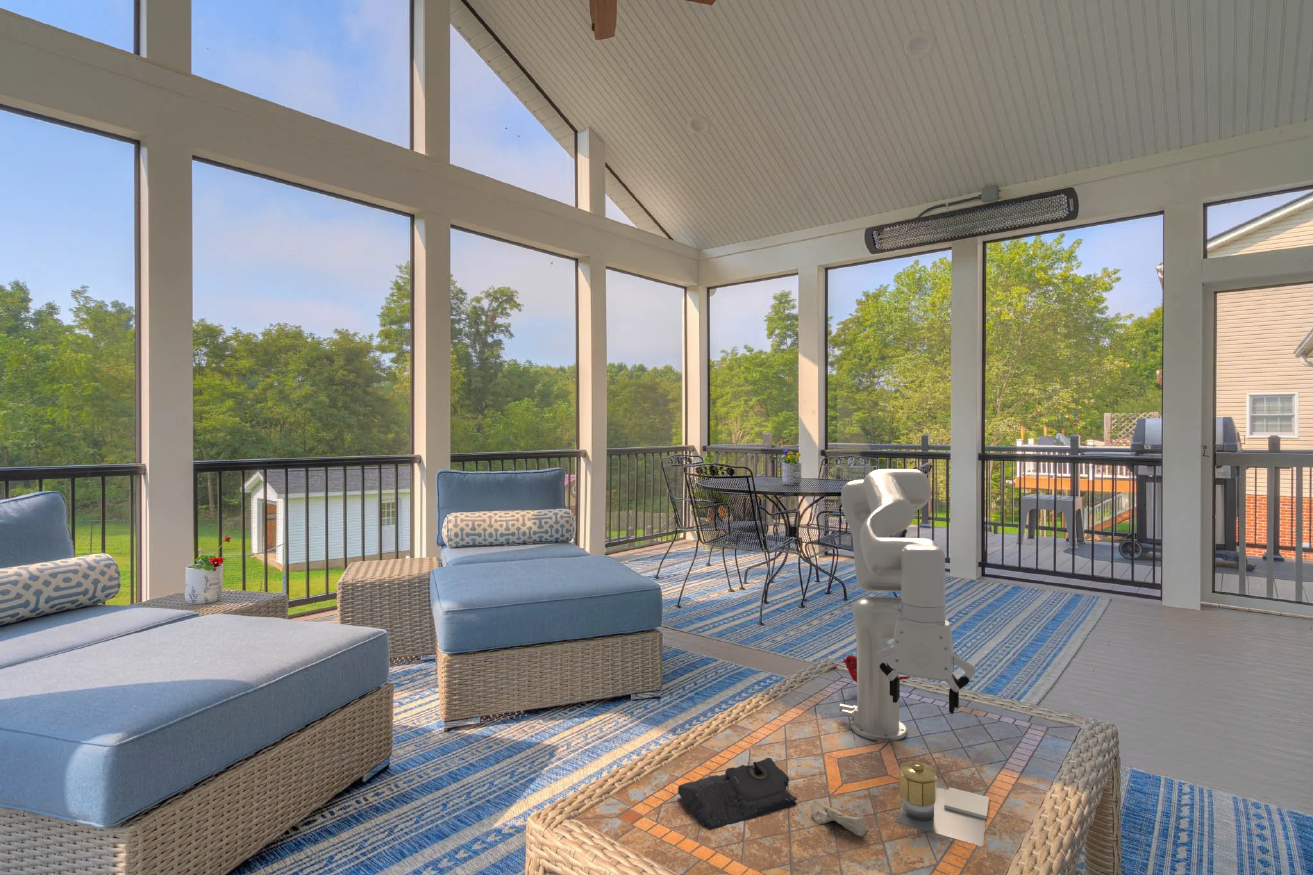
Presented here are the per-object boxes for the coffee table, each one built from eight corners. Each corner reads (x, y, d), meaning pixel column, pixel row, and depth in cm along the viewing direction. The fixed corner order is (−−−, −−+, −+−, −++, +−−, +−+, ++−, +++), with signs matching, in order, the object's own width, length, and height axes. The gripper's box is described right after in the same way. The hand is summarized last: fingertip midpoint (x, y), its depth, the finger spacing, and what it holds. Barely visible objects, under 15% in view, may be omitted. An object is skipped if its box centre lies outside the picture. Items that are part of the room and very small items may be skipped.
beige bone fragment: (816, 811, 122) (816, 787, 122) (871, 831, 116) (871, 806, 116) (804, 826, 118) (804, 801, 118) (861, 847, 112) (861, 821, 112)
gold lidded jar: (897, 799, 119) (897, 768, 119) (903, 784, 124) (903, 753, 124) (933, 809, 116) (933, 776, 116) (937, 793, 121) (937, 761, 121)
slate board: (895, 827, 117) (895, 821, 117) (911, 785, 131) (911, 780, 131) (982, 852, 110) (982, 846, 110) (989, 805, 124) (989, 800, 124)
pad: (944, 807, 121) (944, 804, 121) (948, 790, 127) (949, 787, 127) (986, 819, 118) (986, 815, 118) (989, 800, 124) (989, 797, 124)
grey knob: (899, 815, 119) (899, 778, 119) (905, 801, 123) (905, 765, 123) (931, 824, 116) (931, 786, 116) (935, 809, 121) (935, 772, 121)
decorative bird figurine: (842, 688, 181) (842, 652, 181) (910, 698, 174) (910, 660, 174) (841, 691, 178) (841, 655, 178) (910, 702, 171) (910, 664, 171)
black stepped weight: (668, 793, 129) (667, 769, 129) (760, 768, 139) (760, 746, 139) (705, 835, 116) (705, 809, 116) (805, 805, 125) (805, 780, 125)
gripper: (870, 611, 121) (870, 703, 121) (973, 624, 112) (974, 723, 112) (878, 602, 127) (879, 689, 127) (976, 613, 119) (977, 707, 119)
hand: (923, 705), depth 120 cm, fingers open, 9 cm apart
